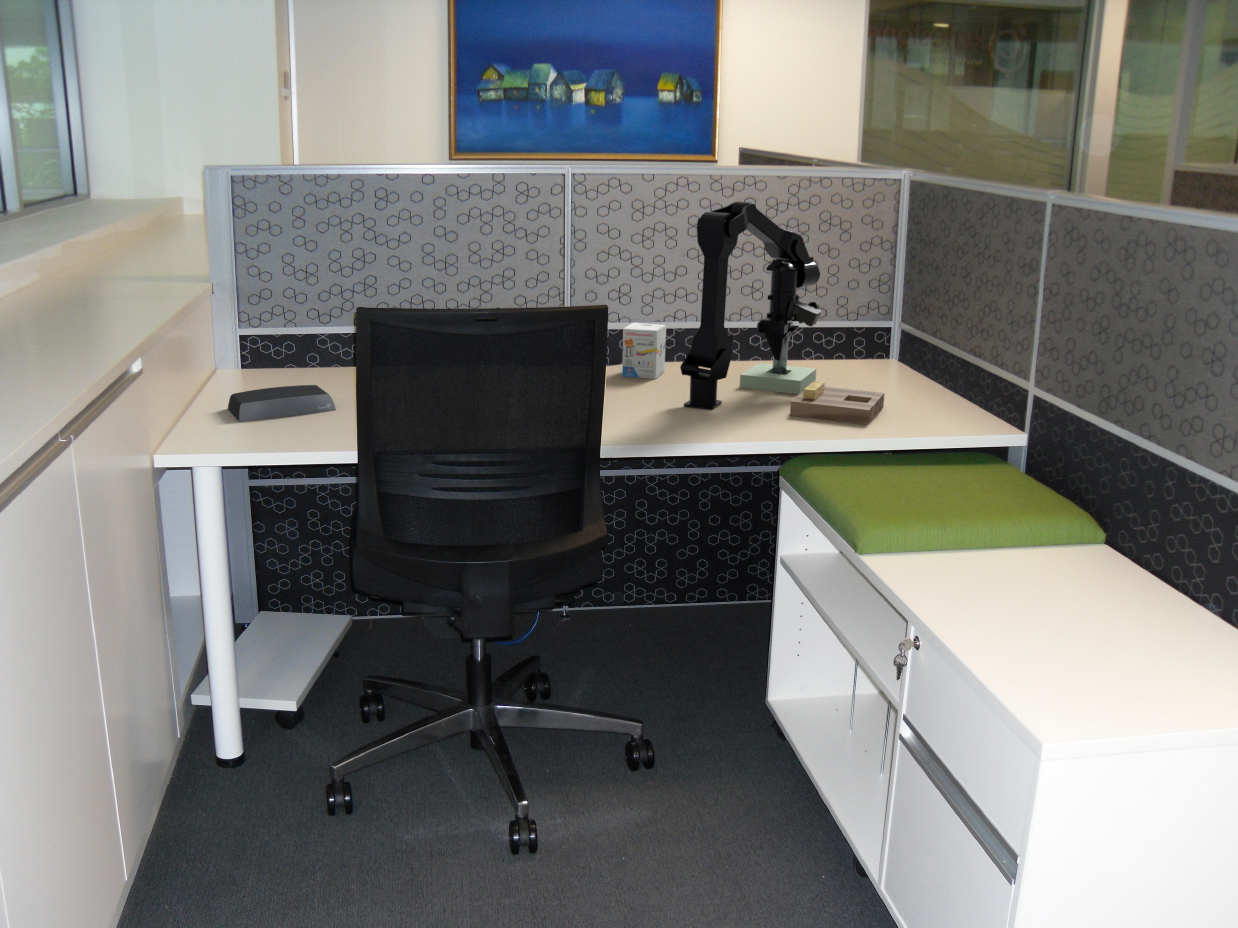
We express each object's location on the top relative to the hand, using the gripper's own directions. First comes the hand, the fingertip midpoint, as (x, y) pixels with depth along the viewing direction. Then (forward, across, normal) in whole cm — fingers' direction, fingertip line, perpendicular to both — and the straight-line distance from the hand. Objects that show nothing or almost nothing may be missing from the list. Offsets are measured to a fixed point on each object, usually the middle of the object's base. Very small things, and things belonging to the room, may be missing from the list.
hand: (779, 358), depth 243 cm
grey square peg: (+4, 0, 0) cm, 5 cm away
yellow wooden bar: (+3, -19, -13) cm, 23 cm away
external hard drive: (+7, -68, +86) cm, 110 cm away
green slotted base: (+6, 0, 0) cm, 6 cm away
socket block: (+6, -18, -18) cm, 26 cm away
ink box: (+6, -4, +32) cm, 33 cm away
